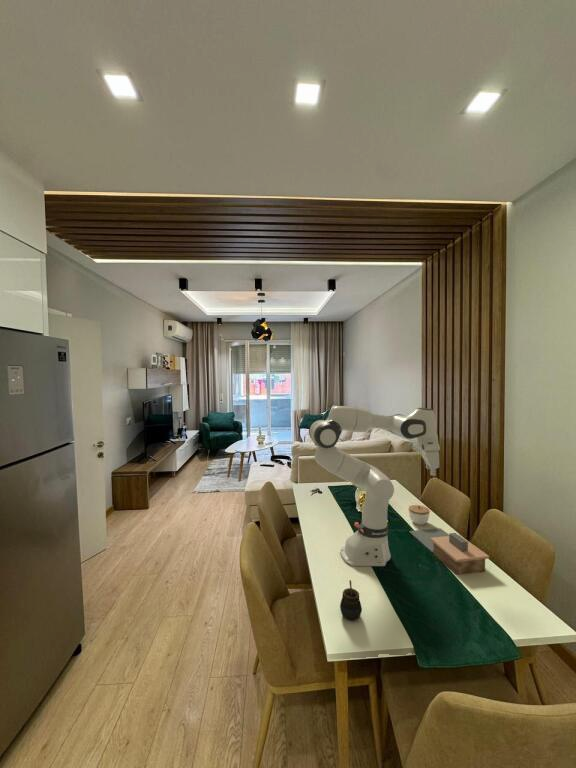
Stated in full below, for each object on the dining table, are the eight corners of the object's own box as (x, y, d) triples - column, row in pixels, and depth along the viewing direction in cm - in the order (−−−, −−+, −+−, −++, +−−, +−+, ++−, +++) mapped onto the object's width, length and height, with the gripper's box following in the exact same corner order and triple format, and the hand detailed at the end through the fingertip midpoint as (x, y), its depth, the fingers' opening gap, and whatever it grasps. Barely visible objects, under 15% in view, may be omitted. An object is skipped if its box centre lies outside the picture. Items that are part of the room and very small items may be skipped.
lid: (456, 562, 133) (456, 550, 133) (430, 539, 151) (430, 529, 151) (489, 558, 136) (489, 546, 136) (459, 537, 154) (459, 526, 154)
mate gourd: (342, 624, 108) (342, 594, 108) (338, 608, 116) (337, 580, 116) (364, 623, 109) (364, 593, 109) (358, 607, 116) (358, 579, 116)
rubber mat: (432, 552, 152) (432, 551, 152) (409, 531, 171) (409, 531, 171) (467, 548, 155) (467, 548, 155) (440, 529, 174) (440, 528, 174)
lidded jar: (424, 518, 187) (425, 502, 187) (432, 527, 176) (432, 509, 176) (405, 518, 187) (406, 501, 187) (412, 526, 177) (412, 509, 176)
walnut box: (456, 574, 135) (457, 560, 135) (433, 553, 151) (433, 540, 150) (484, 571, 137) (485, 557, 137) (458, 551, 153) (459, 538, 153)
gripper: (416, 438, 162) (419, 465, 162) (425, 448, 142) (428, 479, 142) (429, 437, 161) (432, 465, 161) (440, 447, 141) (444, 479, 141)
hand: (430, 472), depth 152 cm, fingers open, 8 cm apart
